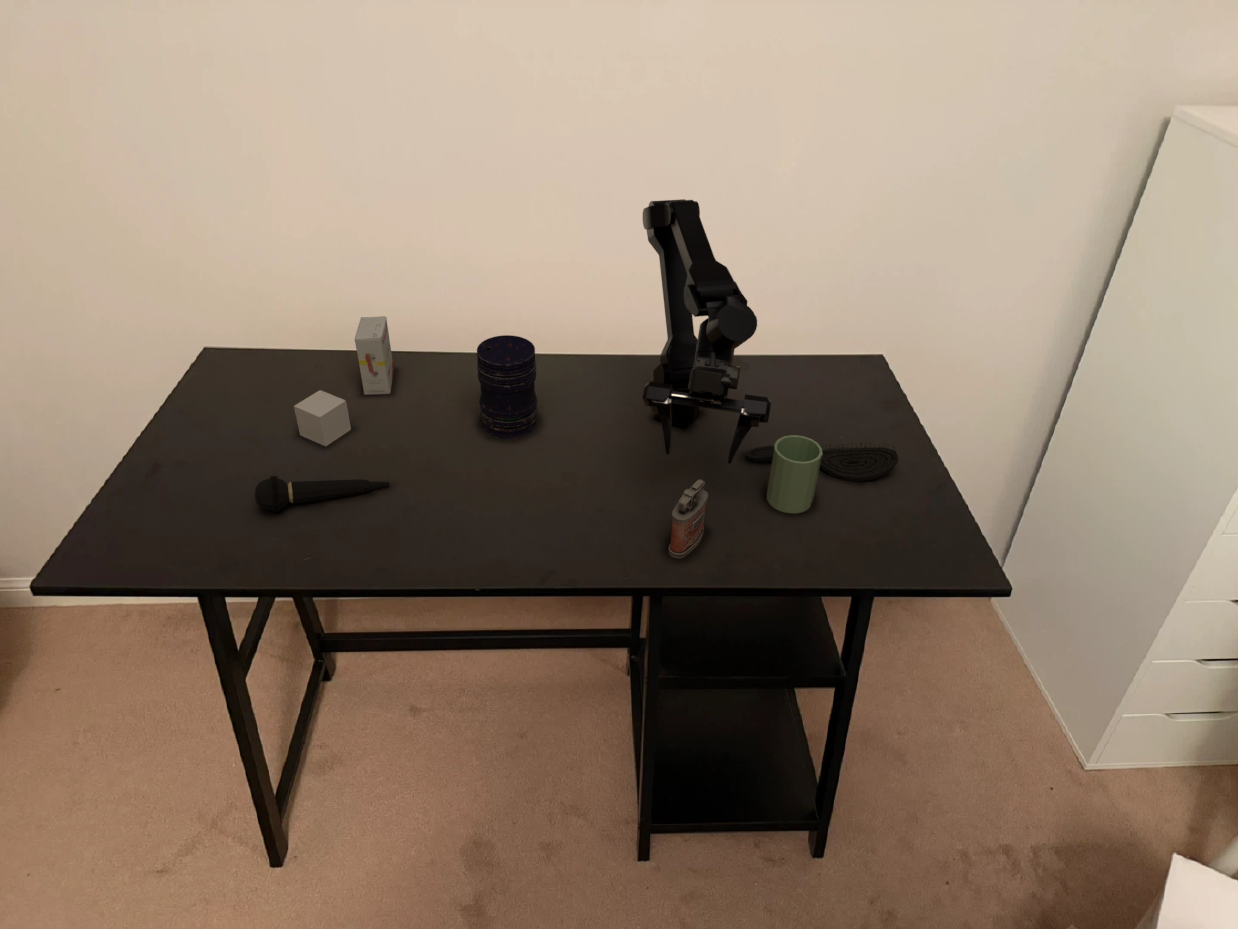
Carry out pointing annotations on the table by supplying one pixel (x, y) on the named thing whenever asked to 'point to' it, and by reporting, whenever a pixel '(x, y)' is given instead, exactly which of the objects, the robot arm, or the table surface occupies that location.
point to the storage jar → (507, 386)
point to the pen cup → (793, 473)
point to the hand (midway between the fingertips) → (698, 458)
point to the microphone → (308, 491)
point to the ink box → (374, 355)
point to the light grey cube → (322, 417)
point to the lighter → (688, 521)
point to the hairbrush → (844, 461)
